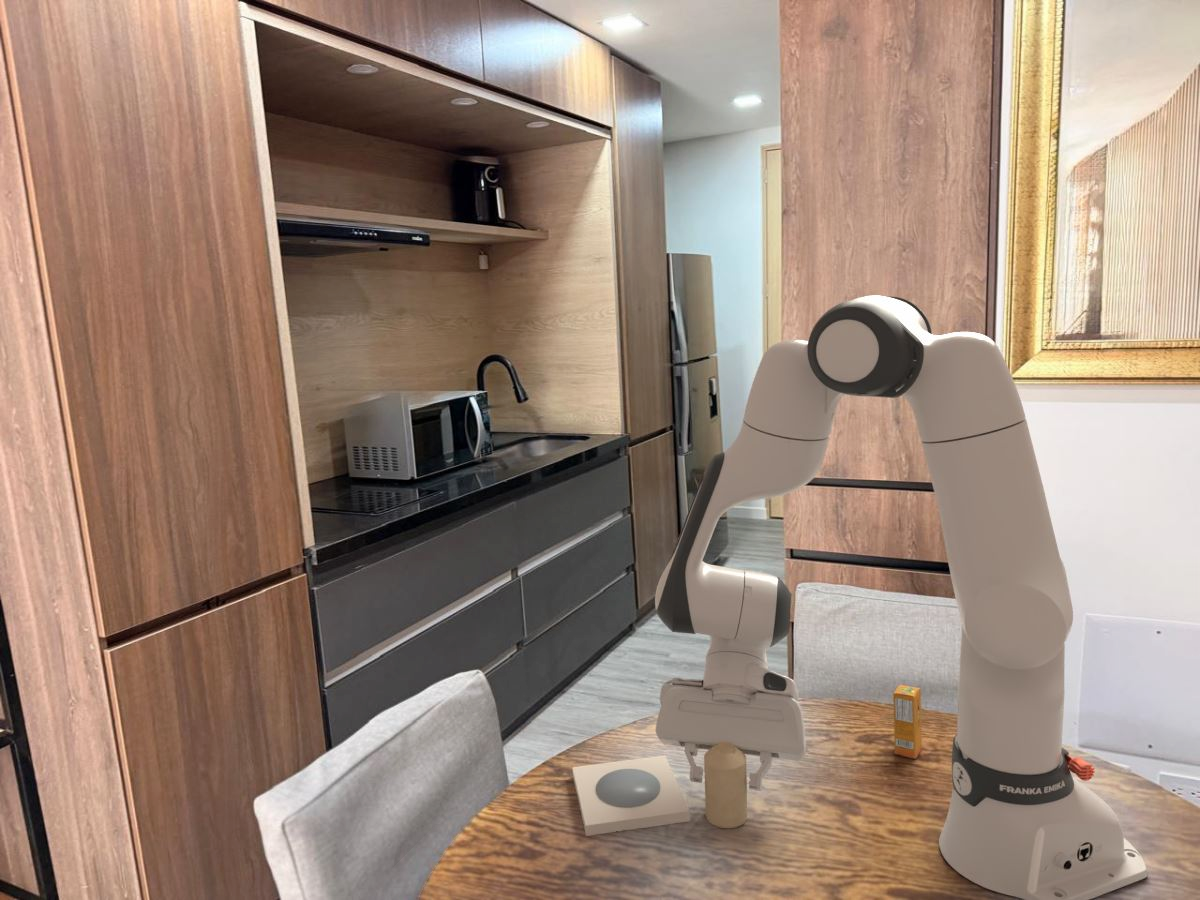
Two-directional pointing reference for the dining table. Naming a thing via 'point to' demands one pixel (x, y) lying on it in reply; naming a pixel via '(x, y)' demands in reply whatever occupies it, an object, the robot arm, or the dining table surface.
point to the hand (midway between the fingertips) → (725, 785)
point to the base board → (629, 795)
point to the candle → (725, 786)
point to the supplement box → (907, 721)
